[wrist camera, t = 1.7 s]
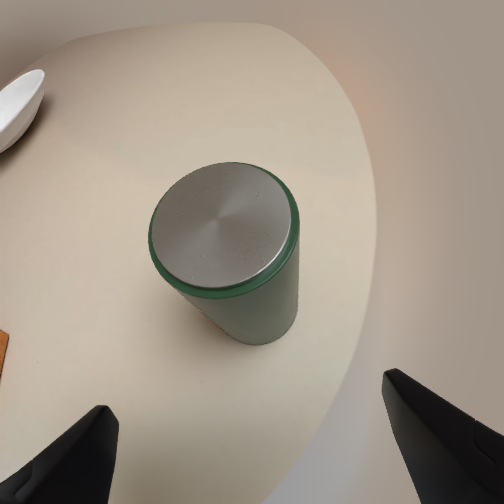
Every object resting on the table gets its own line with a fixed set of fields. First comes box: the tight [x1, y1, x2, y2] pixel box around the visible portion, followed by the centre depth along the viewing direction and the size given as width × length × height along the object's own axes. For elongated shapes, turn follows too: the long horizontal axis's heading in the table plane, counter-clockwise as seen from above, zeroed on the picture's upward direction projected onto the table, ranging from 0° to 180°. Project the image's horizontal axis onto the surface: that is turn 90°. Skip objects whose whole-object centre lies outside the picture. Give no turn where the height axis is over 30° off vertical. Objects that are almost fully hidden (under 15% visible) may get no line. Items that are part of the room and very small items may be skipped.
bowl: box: [0, 69, 44, 153], centre depth 37 cm, size 20×20×6 cm
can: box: [148, 162, 300, 345], centre depth 17 cm, size 6×6×12 cm
